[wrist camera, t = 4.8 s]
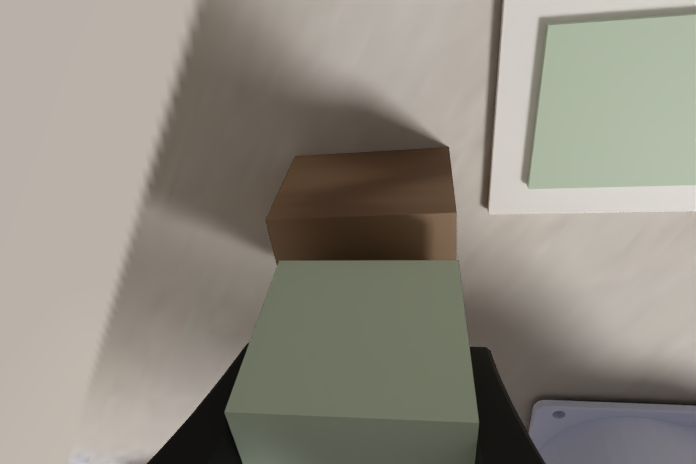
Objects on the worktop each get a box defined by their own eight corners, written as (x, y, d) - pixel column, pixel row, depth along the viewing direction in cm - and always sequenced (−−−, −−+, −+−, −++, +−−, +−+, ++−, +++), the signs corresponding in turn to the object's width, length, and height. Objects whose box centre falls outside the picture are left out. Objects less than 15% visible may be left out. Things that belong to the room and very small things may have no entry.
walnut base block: (448, 145, 16) (456, 212, 12) (449, 269, 18) (456, 350, 15) (295, 154, 16) (265, 220, 13) (318, 271, 19) (298, 349, 16)
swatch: (811, -49, 12) (829, -47, 11) (716, 205, 16) (726, 215, 15) (503, -22, 13) (507, -19, 12) (487, 209, 17) (489, 219, 16)
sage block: (458, 260, 12) (478, 422, 8) (452, 381, 15) (466, 548, 11) (278, 260, 13) (224, 412, 9) (303, 376, 15) (267, 533, 11)
